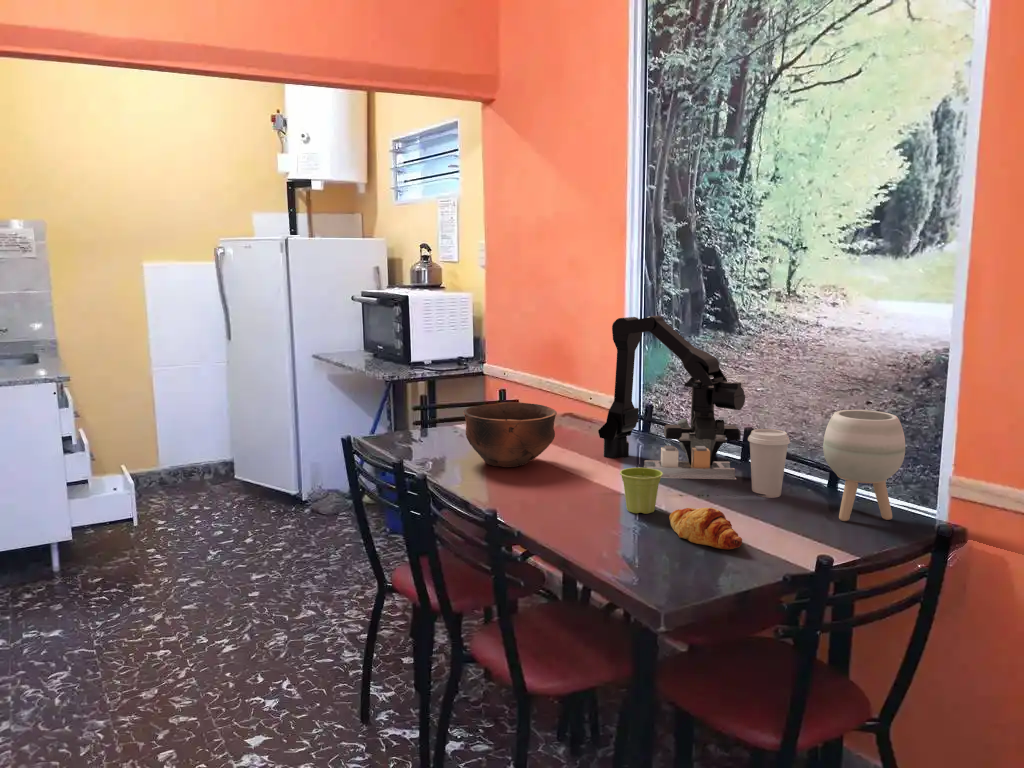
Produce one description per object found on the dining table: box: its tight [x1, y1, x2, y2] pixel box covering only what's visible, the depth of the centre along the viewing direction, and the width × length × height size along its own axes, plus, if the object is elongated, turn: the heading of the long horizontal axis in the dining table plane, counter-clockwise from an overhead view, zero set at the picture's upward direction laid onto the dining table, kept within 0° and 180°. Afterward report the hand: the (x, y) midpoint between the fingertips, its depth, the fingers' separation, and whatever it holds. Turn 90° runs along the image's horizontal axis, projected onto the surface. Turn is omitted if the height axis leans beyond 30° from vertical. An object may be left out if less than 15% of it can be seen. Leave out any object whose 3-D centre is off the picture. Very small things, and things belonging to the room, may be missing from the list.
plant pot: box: [619, 467, 663, 515], centre depth 180 cm, size 9×9×9 cm
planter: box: [822, 409, 906, 522], centre depth 175 cm, size 16×16×22 cm
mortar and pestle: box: [677, 418, 711, 458], centre depth 226 cm, size 11×9×12 cm
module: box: [691, 446, 710, 468], centre depth 209 cm, size 4×4×7 cm
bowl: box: [462, 401, 558, 468], centre depth 221 cm, size 25×25×15 cm
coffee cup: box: [747, 428, 791, 499], centre depth 192 cm, size 10×10×15 cm
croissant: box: [668, 507, 743, 551], centre depth 162 cm, size 21×10×8 cm, turn 27°
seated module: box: [660, 445, 680, 467], centre depth 210 cm, size 4×4×7 cm
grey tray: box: [643, 459, 737, 480], centre depth 210 cm, size 22×12×3 cm, turn 86°
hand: (700, 464), depth 209 cm, fingers open, 5 cm apart
